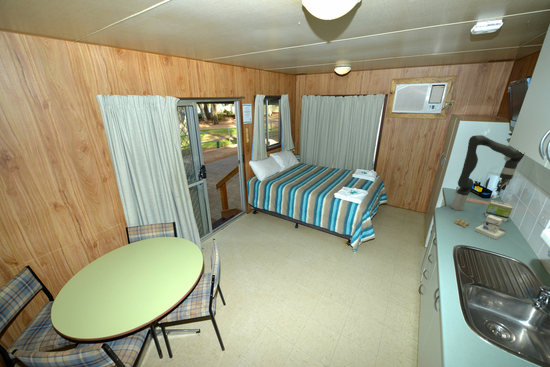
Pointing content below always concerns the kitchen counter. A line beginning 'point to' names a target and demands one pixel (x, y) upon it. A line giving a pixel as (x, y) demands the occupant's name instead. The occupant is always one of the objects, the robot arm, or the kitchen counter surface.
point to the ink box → (492, 223)
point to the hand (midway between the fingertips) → (500, 190)
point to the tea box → (499, 210)
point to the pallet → (461, 223)
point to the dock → (490, 232)
